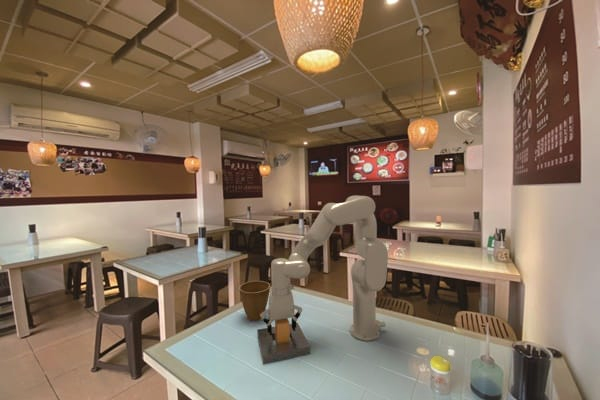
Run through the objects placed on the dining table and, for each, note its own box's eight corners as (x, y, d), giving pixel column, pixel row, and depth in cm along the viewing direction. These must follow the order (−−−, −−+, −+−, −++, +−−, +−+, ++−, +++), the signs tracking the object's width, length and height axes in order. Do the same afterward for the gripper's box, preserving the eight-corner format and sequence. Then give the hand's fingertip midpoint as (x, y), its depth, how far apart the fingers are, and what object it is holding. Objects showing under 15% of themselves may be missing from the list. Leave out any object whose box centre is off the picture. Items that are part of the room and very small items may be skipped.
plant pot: (234, 324, 117) (233, 291, 116) (248, 309, 131) (247, 279, 131) (264, 327, 114) (263, 293, 113) (274, 312, 128) (274, 281, 127)
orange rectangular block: (287, 340, 104) (286, 316, 104) (290, 347, 99) (289, 322, 99) (275, 342, 103) (274, 318, 102) (277, 349, 98) (277, 324, 97)
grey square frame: (297, 328, 112) (297, 322, 112) (310, 353, 95) (310, 346, 95) (257, 336, 107) (257, 329, 107) (263, 364, 90) (263, 356, 89)
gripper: (299, 283, 106) (299, 323, 107) (258, 289, 101) (259, 330, 102) (304, 290, 99) (305, 332, 99) (260, 296, 94) (262, 340, 95)
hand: (282, 331), depth 101 cm, fingers open, 9 cm apart
